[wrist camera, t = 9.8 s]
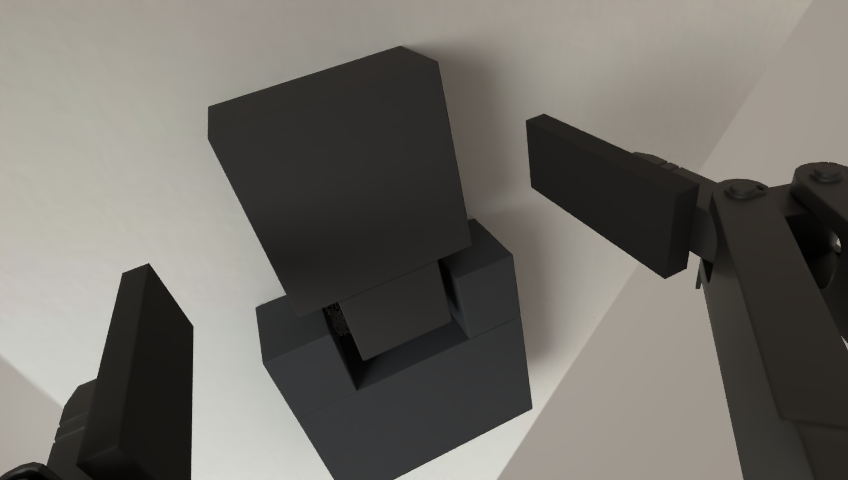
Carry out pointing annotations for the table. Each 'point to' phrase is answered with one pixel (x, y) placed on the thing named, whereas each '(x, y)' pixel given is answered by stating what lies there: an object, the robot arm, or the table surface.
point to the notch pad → (406, 372)
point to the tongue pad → (352, 191)
